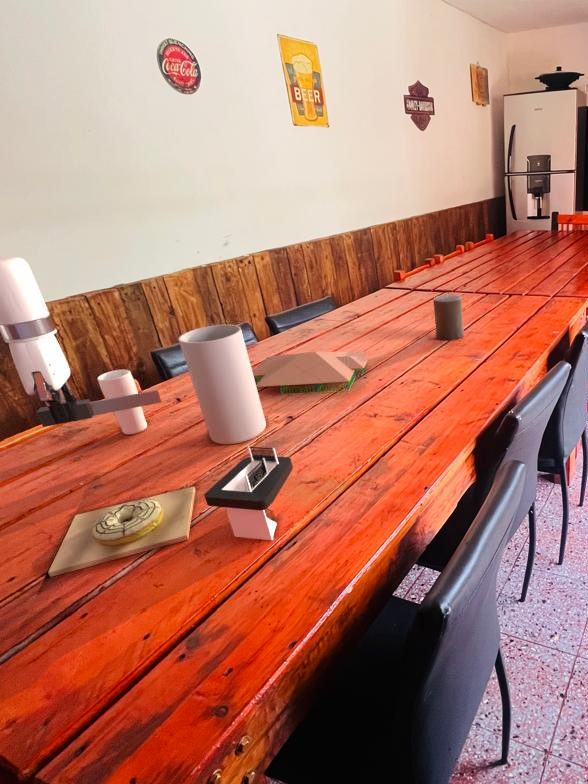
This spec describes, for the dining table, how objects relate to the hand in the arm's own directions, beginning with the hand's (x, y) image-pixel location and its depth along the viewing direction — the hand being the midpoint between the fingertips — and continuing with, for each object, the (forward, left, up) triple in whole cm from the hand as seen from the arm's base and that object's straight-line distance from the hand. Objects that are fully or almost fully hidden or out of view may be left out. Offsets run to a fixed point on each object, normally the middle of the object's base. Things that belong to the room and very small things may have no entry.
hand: (68, 417), depth 100 cm
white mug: (+4, +23, -15) cm, 27 cm away
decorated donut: (+10, -22, -15) cm, 29 cm away
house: (+48, +35, -15) cm, 61 cm away
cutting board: (+10, -21, -15) cm, 28 cm away
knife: (+5, 0, -1) cm, 5 cm away
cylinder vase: (+28, +9, -15) cm, 33 cm away
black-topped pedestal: (+33, -30, -16) cm, 47 cm away
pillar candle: (+97, +50, -15) cm, 110 cm away
